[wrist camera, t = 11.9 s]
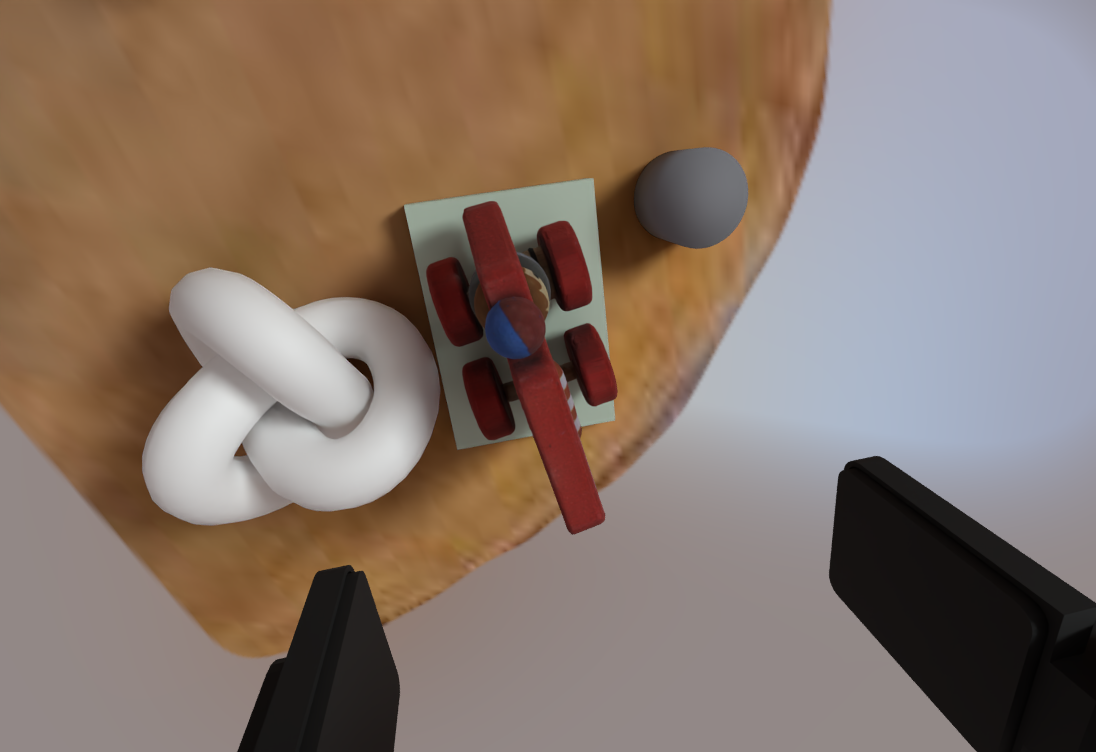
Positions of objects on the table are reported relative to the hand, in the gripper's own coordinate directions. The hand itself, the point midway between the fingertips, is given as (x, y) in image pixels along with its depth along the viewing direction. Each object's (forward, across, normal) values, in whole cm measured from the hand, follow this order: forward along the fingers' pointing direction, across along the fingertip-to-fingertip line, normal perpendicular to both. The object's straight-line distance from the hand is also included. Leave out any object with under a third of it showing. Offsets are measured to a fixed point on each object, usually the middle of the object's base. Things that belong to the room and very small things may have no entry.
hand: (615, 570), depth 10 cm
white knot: (+20, +11, 0) cm, 23 cm away
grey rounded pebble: (+20, -9, -5) cm, 22 cm away
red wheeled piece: (+19, 0, 0) cm, 19 cm away
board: (+20, 0, 0) cm, 20 cm away
